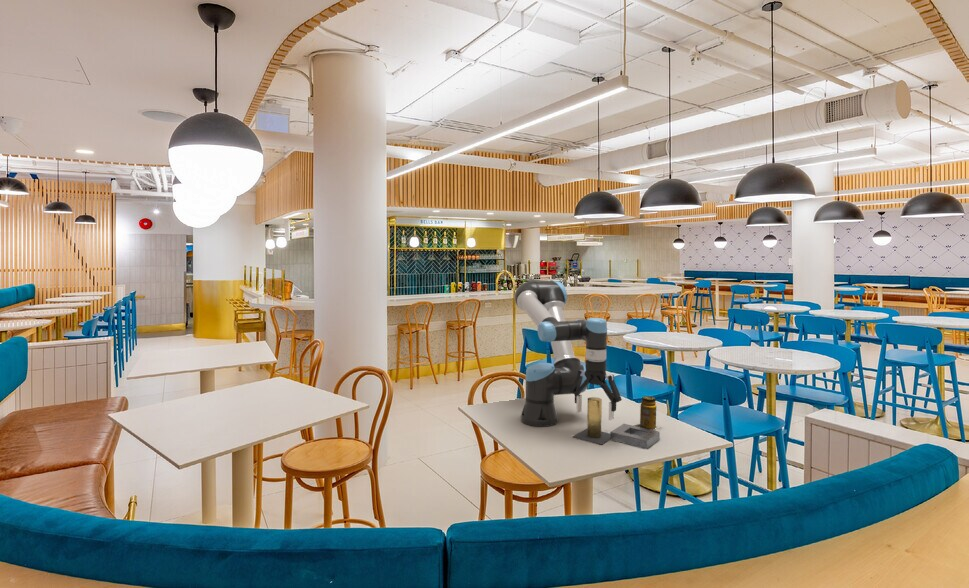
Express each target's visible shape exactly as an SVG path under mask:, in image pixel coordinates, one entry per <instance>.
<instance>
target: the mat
mask: <svg viewBox="0 0 969 588" xmlns="http://www.w3.org/2000/svg"><path fill="white" fill-rule="evenodd" d="M571 438H573V439H577V440H581V441H584V442H589V443H593V444H596V445H600V446H602V445H604V444H606V443H608V442H610V441H611V440H610V433H609V432H606V431H602V430H601V437H599V438H592V437H589V436H587V428H585V429H583V430H581V431H580V432H578V433H576V434H574V435H572V436H571Z"/></svg>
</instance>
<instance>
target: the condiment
mask: <svg viewBox="0 0 969 588" xmlns="http://www.w3.org/2000/svg"><path fill="white" fill-rule="evenodd" d="M656 401H657V399H656V398H655V397H653V396H648V395H644V396H642V397H641V403H640V410H639V411H640V412H639V414H640V415H639V416H640V417H639V423H637V424H635V425H632V426H637V427H641V428H646V429H650V430H652V429H653V430H654V431H656V430H657V429H658V430H659V429H660V428H661V427H660V426H657V404H656ZM655 428H656V429H655Z"/></svg>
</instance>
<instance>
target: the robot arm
mask: <svg viewBox="0 0 969 588" xmlns="http://www.w3.org/2000/svg"><path fill="white" fill-rule="evenodd" d="M567 295H568V293H567V290H566V287H565V285H564V284H563V282H561V281H558V280H556V281H555V280H549V281H548V280H542V281H541V280H540V281H539V280H537V281H536V280H535V281H534V280H533V281H532V280H531V281H530V280H529V281H525V282H523V283H521V284H520V285H519V286H518V287H517V289H516V290H515V293H514V303H515V305H516V306H517V307H518V308H519V310H521V311H525V313H526V315H528V316H529V318H530V319H531V320H532V321H533V322H534V324H535V325H536V326H537V336H538V339H539V340H540V341H541V342H548V343H550V344H551V348H552V352H553V356H554V362H553V363H550V362H539V363H534V364H531V365H529V366H528V367H527V368H526V369H525V370H526V371H525V401H524V402H525V403H524V405H523V408H522V411H521V414H520V421H521V423H523V424H525V425H528V426H533V427H550V426H551V427H552V426H554V425H557V423H558V421H559V418H558V417H559V415H558V413H557V409H556V405H555V399H554V398H555V396H562V395H574V404H576V407H575V408H576V411H575V412H576V413H577V414H579V413H581V412H582V407H583V406H582V404H583V402H582V401H583V398H582V397H583V396H582V395H583V394H582V393H584V392H586V390H587V388H588V386H589V384H590V385H594V386H599V387H600V388H601V389H602V390H603V392H604V393H605V395H606V397H607V398H608V400H609V401H610V402H608V421H612V420H614V419H615V417H614V416H615V414H614V413H615V412H616V410H617V403H619V402H621V401H622V400H623V399H622V396H621V393H620V392H619V389H618V386H617V384H616V381H615V375H614V374H607V373H606V372H607V361H606V360H607V345H608V344H607V343H608V340H607V338H608V326H607V325H608V324H607V322H608V321H607V320H606V319H605V318H602V317H601V318H599V317H589V318H587V319H586V320H585V319H575V320H566V318H565V313H564V311H563V309H565V305H566V303H567V301H568V296H567ZM572 341H584V342H585V359H586V360H585V364H581V360H580V358H579V357H576V355H575V352H574V348H573V345H572ZM606 380H607V381H606ZM607 382H608V383H607ZM608 384H609V385H608Z"/></svg>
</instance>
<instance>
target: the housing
mask: <svg viewBox="0 0 969 588" xmlns="http://www.w3.org/2000/svg"><path fill="white" fill-rule="evenodd" d="M660 434H661V432H660V431H658V430H650V429H646V428H641V427H637V426H633V425H632V424H628V423H622V424H621V425H619V426H618V427H616V428H614V429H613V430H611V431H610V440H609V441H615V442H618V443H622V444H625V445H630V446H633V447H638V448H640V449H645V450H649V448H650V447H652V446H653V445H654V444H655V443H657V442H658V441H659V440H660Z"/></svg>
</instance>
